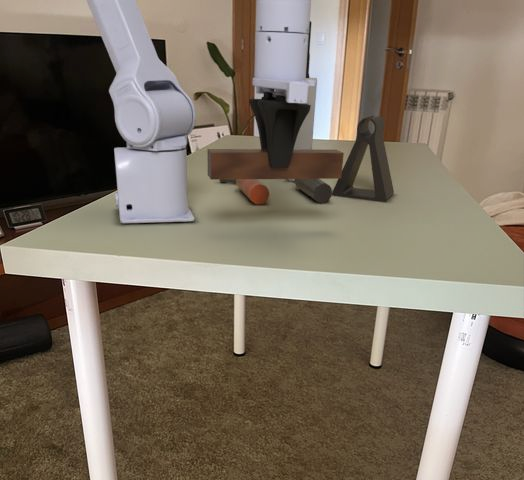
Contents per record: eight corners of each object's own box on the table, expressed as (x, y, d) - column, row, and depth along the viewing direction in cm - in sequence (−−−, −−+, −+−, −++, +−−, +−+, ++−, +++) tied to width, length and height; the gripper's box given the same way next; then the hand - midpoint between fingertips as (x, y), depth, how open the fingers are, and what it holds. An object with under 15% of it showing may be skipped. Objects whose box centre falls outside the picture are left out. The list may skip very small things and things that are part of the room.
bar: (210, 179, 64) (210, 152, 62) (207, 175, 66) (207, 148, 65) (341, 178, 67) (344, 152, 66) (334, 174, 70) (336, 149, 68)
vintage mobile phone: (309, 177, 104) (321, 22, 92) (309, 182, 99) (321, 20, 87) (289, 176, 104) (298, 21, 92) (288, 181, 99) (297, 19, 88)
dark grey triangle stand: (331, 195, 91) (339, 116, 85) (342, 188, 96) (349, 113, 90) (386, 201, 88) (397, 120, 82) (393, 194, 93) (405, 117, 87)
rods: (249, 204, 83) (250, 184, 82) (235, 190, 91) (236, 171, 90) (331, 203, 86) (333, 183, 85) (310, 189, 95) (311, 170, 93)
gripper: (341, 34, 54) (328, 176, 61) (298, 36, 67) (290, 154, 73) (271, 30, 53) (265, 177, 59) (240, 33, 65) (238, 154, 71)
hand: (275, 164), depth 66 cm, fingers closed on bar, 2 cm apart
